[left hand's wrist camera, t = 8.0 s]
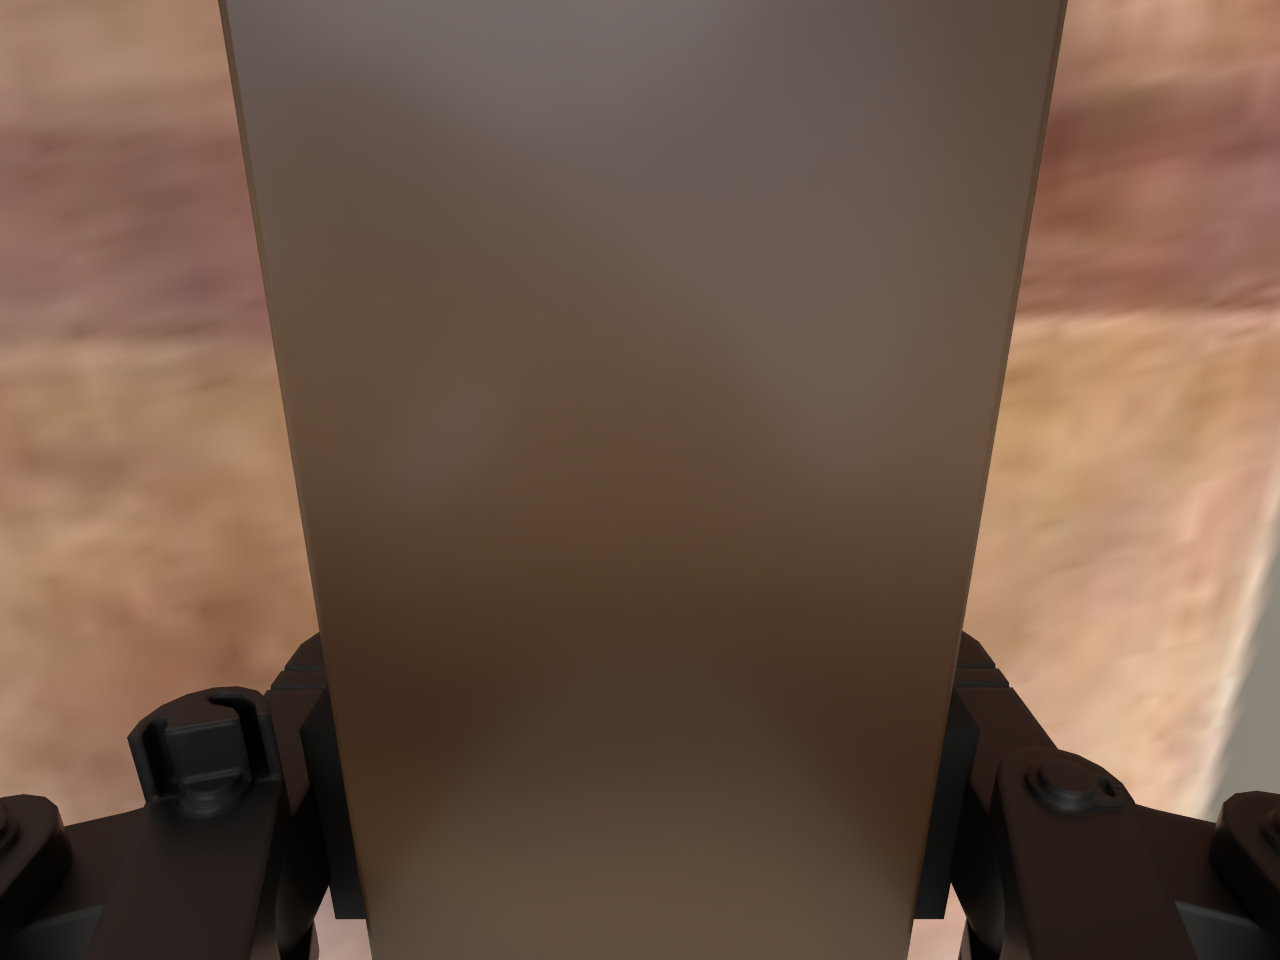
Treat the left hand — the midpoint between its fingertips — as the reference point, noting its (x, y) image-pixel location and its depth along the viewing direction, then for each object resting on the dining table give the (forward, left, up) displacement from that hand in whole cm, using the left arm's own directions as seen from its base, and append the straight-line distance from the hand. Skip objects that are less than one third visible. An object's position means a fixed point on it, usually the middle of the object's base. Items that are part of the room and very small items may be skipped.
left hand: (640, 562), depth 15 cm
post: (-30, +6, -1) cm, 30 cm away
